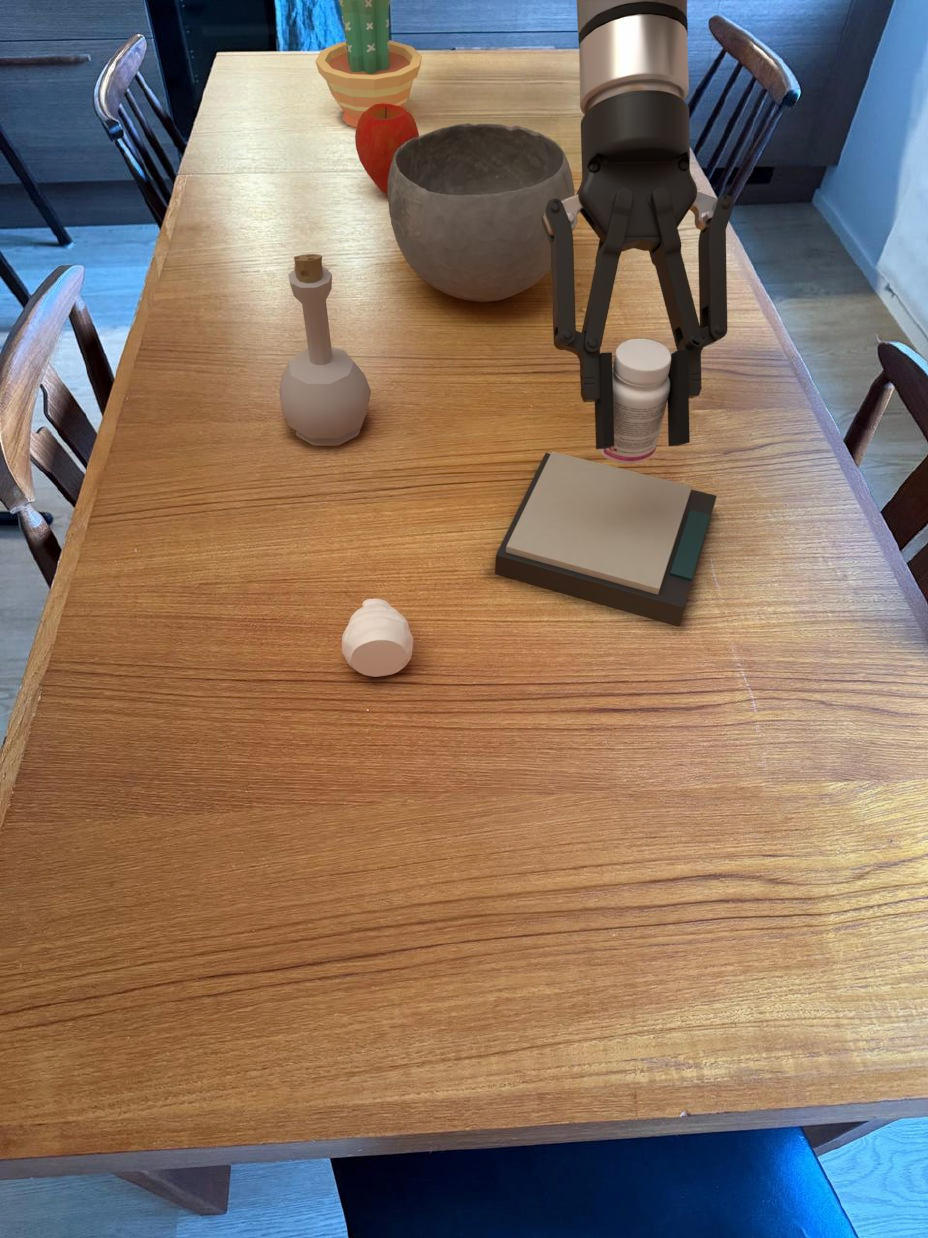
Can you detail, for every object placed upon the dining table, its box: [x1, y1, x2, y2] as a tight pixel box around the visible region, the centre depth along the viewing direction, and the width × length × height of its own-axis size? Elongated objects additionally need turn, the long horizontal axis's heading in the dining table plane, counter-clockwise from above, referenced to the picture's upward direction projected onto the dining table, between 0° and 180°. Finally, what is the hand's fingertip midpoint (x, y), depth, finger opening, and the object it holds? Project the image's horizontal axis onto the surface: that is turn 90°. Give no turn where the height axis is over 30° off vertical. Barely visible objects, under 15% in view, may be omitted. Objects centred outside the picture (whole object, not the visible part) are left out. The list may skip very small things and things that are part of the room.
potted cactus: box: [315, 0, 423, 128], centre depth 126 cm, size 15×15×25 cm
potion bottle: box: [279, 253, 372, 447], centre depth 82 cm, size 9×9×18 cm
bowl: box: [386, 122, 576, 303], centre depth 100 cm, size 20×20×15 cm
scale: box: [494, 451, 718, 627], centre depth 78 cm, size 16×14×3 cm
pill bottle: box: [597, 338, 672, 465], centre depth 67 cm, size 5×5×8 cm
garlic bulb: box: [341, 597, 414, 678], centre depth 69 cm, size 6×6×6 cm
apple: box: [354, 103, 420, 195], centre depth 116 cm, size 9×8×11 cm
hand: (642, 445), depth 65 cm, fingers closed on pill bottle, 5 cm apart
